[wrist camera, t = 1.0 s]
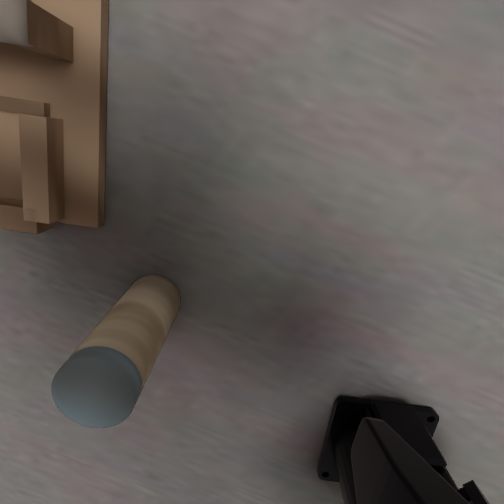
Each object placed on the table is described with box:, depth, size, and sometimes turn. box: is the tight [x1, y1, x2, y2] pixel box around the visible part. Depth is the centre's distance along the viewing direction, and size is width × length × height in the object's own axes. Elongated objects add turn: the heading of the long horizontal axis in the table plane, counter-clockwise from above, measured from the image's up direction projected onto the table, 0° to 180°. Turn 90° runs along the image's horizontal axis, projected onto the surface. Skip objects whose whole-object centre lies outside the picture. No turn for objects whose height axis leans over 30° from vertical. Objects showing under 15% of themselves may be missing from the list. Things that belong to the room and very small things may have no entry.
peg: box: [52, 275, 181, 428], centre depth 16 cm, size 3×3×8 cm
